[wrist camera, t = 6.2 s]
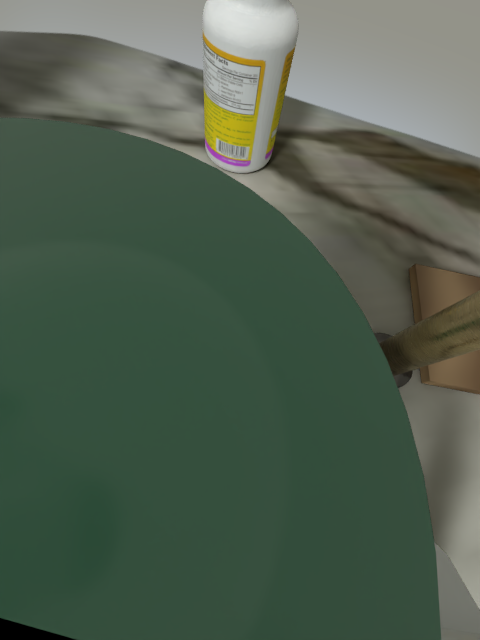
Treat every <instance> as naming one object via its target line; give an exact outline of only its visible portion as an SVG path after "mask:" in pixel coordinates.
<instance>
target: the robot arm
mask: <svg viewBox="0 0 480 640" xmlns="http://www.w3.org/2000/svg"><path fill="white" fill-rule="evenodd" d="M434 544H435V550H436V560H437V577H438V593H439V609H440V626H441V640H480V610H479V608H478V606H477V605H476V603H475V601H474V599H473V598H472V596H471V594H470V593H469V591H468V589H467V587H466V586H465V584H464V582H463V581H462V579H461V577H460V575H459V574H458V572H457V570H456V569H455V567H454V565H453V563H452V562H451V560H450V558H449V557H448V555H447V554H446V553H445V552H444V551H443V550H442V549H441V548H440V547H439V546H438V545H437V544H436V543H435V542H434Z"/></svg>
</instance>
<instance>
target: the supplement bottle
mask: <svg viewBox="0 0 480 640" xmlns="http://www.w3.org/2000/svg"><path fill="white" fill-rule="evenodd" d="M297 36H298V18H297V14H296V11H295V9H294V7H293V5H292V4H291V2H290V1H289V0H207V1H206V4H205V6H204V11H203V60H204V61H203V65H204V66H203V67H204V116H205V147H206V151H207V154H208V156H209V157H210V159H211V160H212V161H213V162H214V163H215V164H216V165H218V166H219V167H221V168H223V169H225V170H227V171H230V172H235V173H249V172H253V171H256V170H259V169H261V168H262V167H264V166H265V165H266V164H267V163H268V161H269V159H270V157H271V154H272V150H273V146H274V142H275V137H276V132H277V128H278V123H279V118H280V114H281V109H282V105H283V100H284V95H285V91H286V86H287V81H288V77H289V73H290V68H291V63H292V59H293V54H294V50H295V46H296V41H297Z"/></svg>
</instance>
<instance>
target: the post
mask: <svg viewBox="0 0 480 640" xmlns="http://www.w3.org/2000/svg"><path fill="white" fill-rule="evenodd" d="M374 335H375V337H376V339H377V341H378V343H379V345H380V347H381V349H382V351H383V353H384V355H385V357H386V359H387V361H388V364H389V367H390V369H391V372H392V374H393V377H394V380H395V382H396V385H397V388H398V387H401V386H403V385H405V384H406V383H407V382H408V381H409V380H410V378H411V376H412V372H413V370H415V369H418V368H421V367H424V366H428V365H431V364H434V363H438V362H441V361H444V360H447V359H451V358H454V357H457V356H460V355H464V354H467V353H470V352H473V351H477V350H480V290H479V291H478V292H476V293H474V294H472V295H470V296H468V297H466V298H464V299H462V300H460V301H459V302H457V303H455V304H453V305H451V306H449V307H447V308H445V309H443V310H441V311H439V312H438V313H436V314H434V315H432V316H430V317H428V318H426V319H424V320H422V321H420V322H419V323H417V324H415V325H413V326H411V327H409V328H407V329H405V330H403V331H401V332H399V333H398V334H396V335H394V336H390V335H387V334H383V333H375V334H374Z"/></svg>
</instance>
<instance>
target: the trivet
mask: <svg viewBox="0 0 480 640" xmlns="http://www.w3.org/2000/svg"><path fill="white" fill-rule="evenodd" d="M409 275H410V284H411V293H412V302H413V311H414V320H415V324H417V323H419V322H420V321H422V320H424V319H426V318H428V317H430V316H432V315H434V314H436V313H438V312H439V311H441V310H443V309H445V308H447V307H449V306H451V305H453V304H455V303H457V302H459V301H460V300H462V299H464V298H466V297H468V296H470V295H472V294H474V293H476V292H478V291H479V290H480V277H475V276H470V275H466V274H461V273H456V272H451V271H447V270H442V269H437V268H433V267H428V266H423V265H419V264H415V265H413V266H412V267H411V268H410V269H409ZM420 373H421V382H422V383H424V384H430V385H435V386H440V387H445V388H450V389H455V390H460V391H465V392H470V393H475V394H480V350H477V351H473V352H470V353H467V354H464V355H460V356H457V357H454V358H451V359H447V360H444V361H441V362H438V363H434V364H431V365H428V366H424V367H421V368H420Z"/></svg>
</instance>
